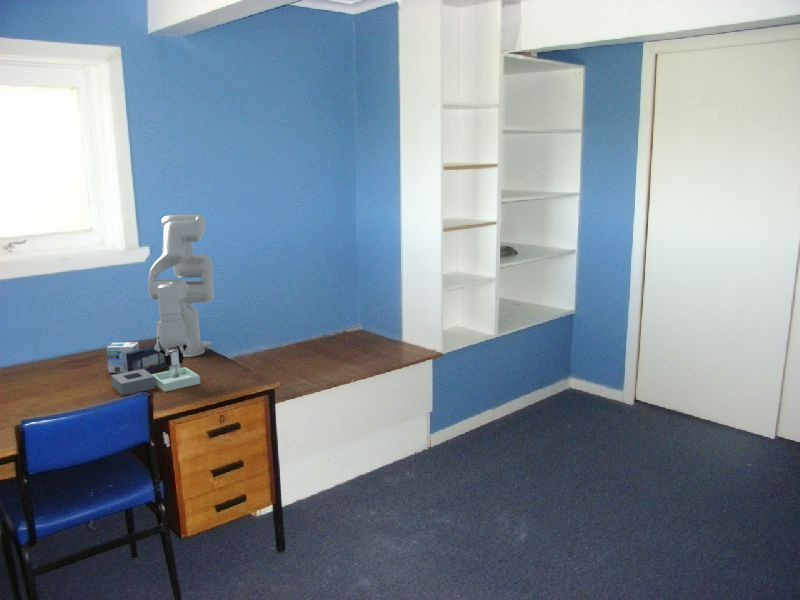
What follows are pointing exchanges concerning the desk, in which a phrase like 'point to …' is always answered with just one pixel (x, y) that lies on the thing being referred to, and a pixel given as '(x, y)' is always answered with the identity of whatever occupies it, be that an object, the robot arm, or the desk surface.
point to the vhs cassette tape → (145, 359)
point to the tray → (176, 380)
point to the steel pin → (174, 364)
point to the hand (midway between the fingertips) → (174, 363)
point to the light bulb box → (119, 356)
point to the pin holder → (133, 381)
